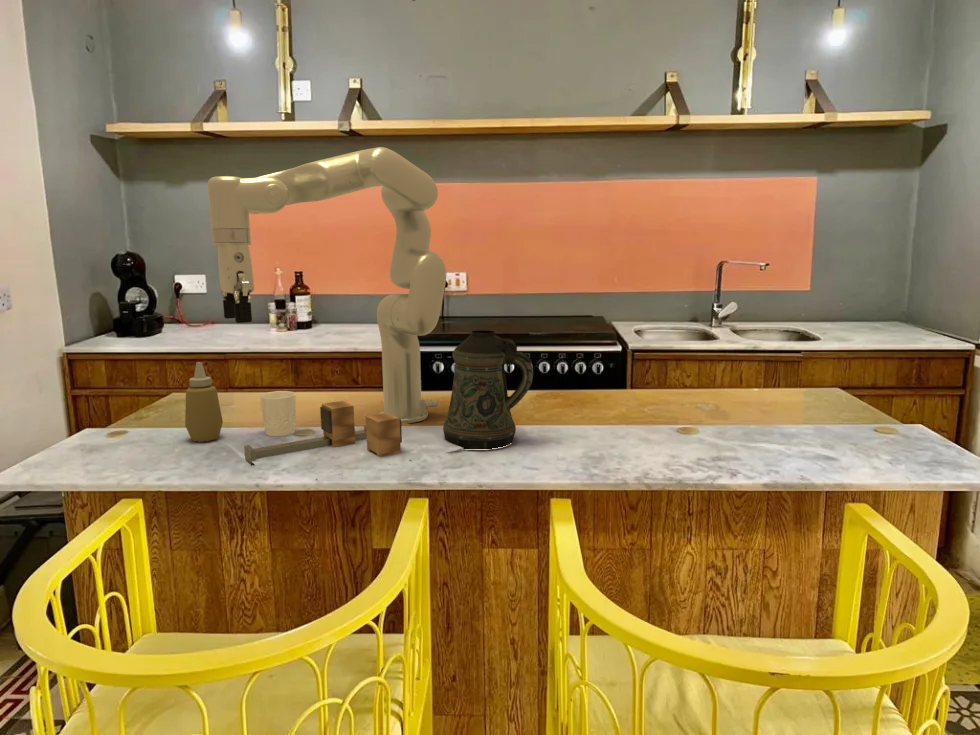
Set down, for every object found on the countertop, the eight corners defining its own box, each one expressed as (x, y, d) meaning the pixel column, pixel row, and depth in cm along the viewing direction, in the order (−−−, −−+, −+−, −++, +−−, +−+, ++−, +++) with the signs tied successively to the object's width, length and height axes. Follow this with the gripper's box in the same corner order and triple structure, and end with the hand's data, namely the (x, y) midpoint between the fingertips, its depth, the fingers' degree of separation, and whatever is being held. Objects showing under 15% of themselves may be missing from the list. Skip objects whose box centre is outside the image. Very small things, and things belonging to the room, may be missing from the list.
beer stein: (437, 434, 168) (434, 328, 163) (516, 427, 172) (516, 325, 168) (451, 454, 152) (448, 338, 147) (537, 447, 157) (538, 334, 152)
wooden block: (344, 437, 162) (343, 400, 160) (355, 443, 157) (353, 405, 156) (321, 441, 159) (319, 404, 157) (331, 447, 154) (329, 409, 152)
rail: (368, 438, 164) (368, 424, 164) (376, 442, 161) (376, 429, 160) (245, 460, 149) (244, 445, 148) (251, 465, 145) (250, 450, 145)
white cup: (288, 441, 162) (285, 399, 160) (256, 440, 164) (253, 397, 162) (303, 432, 170) (301, 391, 168) (273, 431, 171) (270, 390, 170)
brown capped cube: (391, 450, 155) (389, 412, 154) (403, 456, 151) (402, 417, 149) (367, 454, 152) (365, 416, 151) (379, 461, 147) (377, 421, 146)
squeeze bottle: (231, 436, 167) (225, 360, 164) (204, 445, 160) (198, 366, 157) (206, 432, 170) (199, 358, 167) (178, 441, 163) (171, 364, 160)
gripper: (261, 237, 143) (267, 322, 146) (239, 237, 157) (245, 315, 160) (222, 238, 139) (229, 325, 142) (203, 238, 153) (210, 317, 156)
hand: (237, 320), depth 151 cm, fingers open, 9 cm apart
